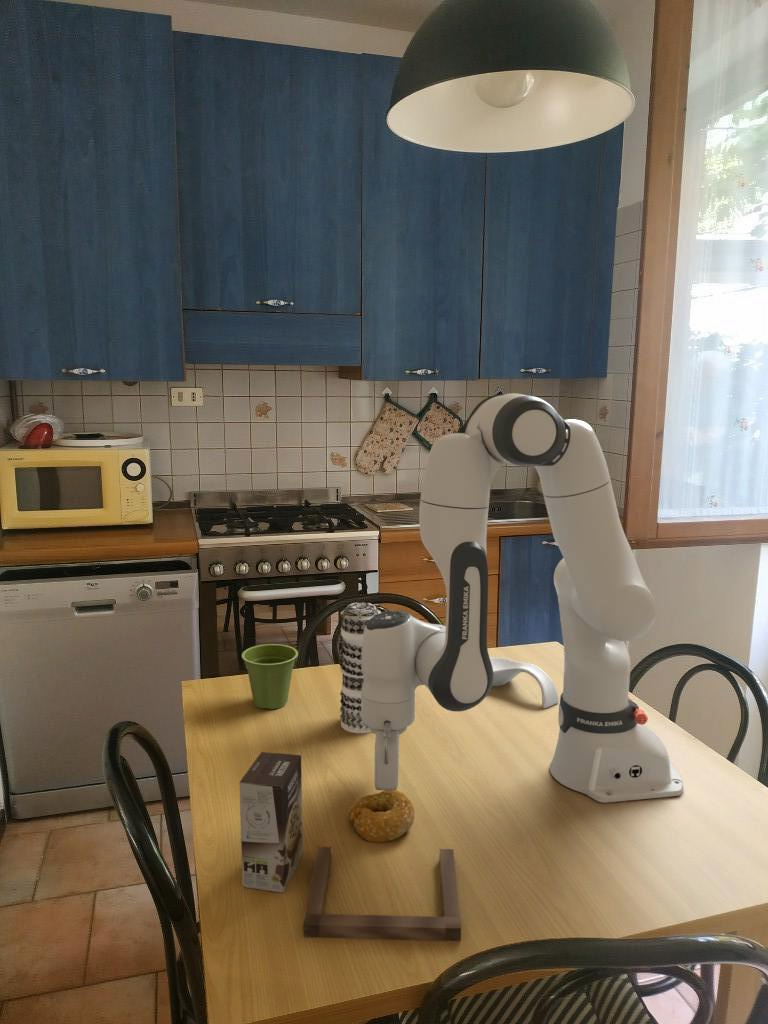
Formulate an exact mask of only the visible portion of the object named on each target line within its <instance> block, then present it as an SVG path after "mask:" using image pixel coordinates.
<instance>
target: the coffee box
mask: <svg viewBox="0 0 768 1024" xmlns="http://www.w3.org/2000/svg"><path fill="white" fill-rule="evenodd" d="M302 781H303V780H302V755H301V754H300V755H299V754H294V753H293V754H292V753H282V752H278V753H277V752H265V751H261V752H260V753H259V755H258V756H257V757H256V758H255V760H254V762H253V763H252V764H251V766H249V768H248V770H247V771H246V772H245V774H244V775H243V777H242V778H241V780H240V781H239V805H240V806H239V807H240V810H239V811H240V842H241V844H240V845H241V872H242V873H241V874H242V875H241V879H242V881H241V882H242V887H243V888H248V889H256V890H262V891H269V892H275V893H279V894H280V893H281V894H282V893H285V891H286V888H287V887H288V885H289V883H290V881H291V878H292V877H293V874H294V873H295V871H296V869H297V866H298V864H299V862H300V861H301V858H302V857H303V854H304V838H303V836H304V835H303V833H304V832H303V831H304V830H303V790H302V788H303V786H302Z"/></svg>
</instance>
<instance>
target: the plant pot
mask: <svg viewBox="0 0 768 1024" xmlns="http://www.w3.org/2000/svg"><path fill="white" fill-rule="evenodd" d="M298 655H299V652H298V650H297V649H296V648H294V647H292V646H290V645H286V644H279V643H278V644H277V643H269V644H268V643H267V644H259V645H254V646H250V647H249V648H247V649H245V650H244V651H243V652H242V653H241V658H242V660H243V661H244V662H245V663H244V664H245V668H246V670H247V673H248V674H247V675H248V679H249V681H248V682H249V685H250V690H251V691H250V692H251V697H252V701H253V705H254V706H255V707H256V708H258V709H268V710H275V709H279V708H282V707H284V706H285V705H286V704H287V703H288V701H289V700H288V699H289V694H290V688H291V687H290V686H291V682H292V674H293V668H294V666H295V662H296V659H297V657H298Z"/></svg>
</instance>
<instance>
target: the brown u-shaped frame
mask: <svg viewBox="0 0 768 1024" xmlns="http://www.w3.org/2000/svg"><path fill="white" fill-rule="evenodd" d="M331 862H332V846H317V849H316V854H315V861H314V865H313V871H312V876H311V881H310V887H309V892H308V897H307V903H306V908H305V914H304V920H303V926H302V927H303V938H318V939H319V938H324V939H325V938H327V939H328V938H329V939H330V938H331V939H365V940H366V939H367V940H369V939H370V940H374V939H375V940H404V941H405V940H406V941H407V940H411V941H412V940H415V941H419V940H420V941H448V940H461V941H462V924H461V913H460V903H459V894H458V884H457V883H458V881H457V874H456V872H457V871H456V864H455V863H456V862H455V851H454V849H453V848H452V849H451V848H439V869H440V872H439V873H440V884H441V885H440V886H441V901H442V916H430V915H429V916H427V915H426V916H425V915H389V914H388V915H384V914H383V915H382V914H381V915H379V914H378V915H377V914H345V913H343V914H337V913H324V909H325V902H326V896H327V888H328V883H329V878H330V877H329V876H330V875H329V874H330V871H331Z"/></svg>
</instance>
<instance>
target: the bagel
mask: <svg viewBox="0 0 768 1024" xmlns="http://www.w3.org/2000/svg"><path fill="white" fill-rule="evenodd" d="M346 817H347V820H348V821H349V822H350V823H351V824H352V825H353V826H354V829H355V830H356V832H357V834H358V835H360V836H361V837H362V839H364V840H366V841H367V842H371V843H385V842H386V843H388V842H391V841H394V840H396V839H398V838H399V837H401V836H402V835H404V834H405V833H406V832H408V831H409V829H410V828H411V827H412V825H413V823H414V821H415V807H414V805H413V803H412V801H411V800H410V799H409V797H408V795H406V794H405V793H404V792H400V791H399V790H398V789H396V790H393V791H384V790H381V791H380V792H377V793H374V794H373V793H372V794H367V795H365V796H362V797H360V798H359V799H358V800H357V801H355V802H354V804H352V806H351V807H350V808H349V809H348V810H347V814H346Z"/></svg>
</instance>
